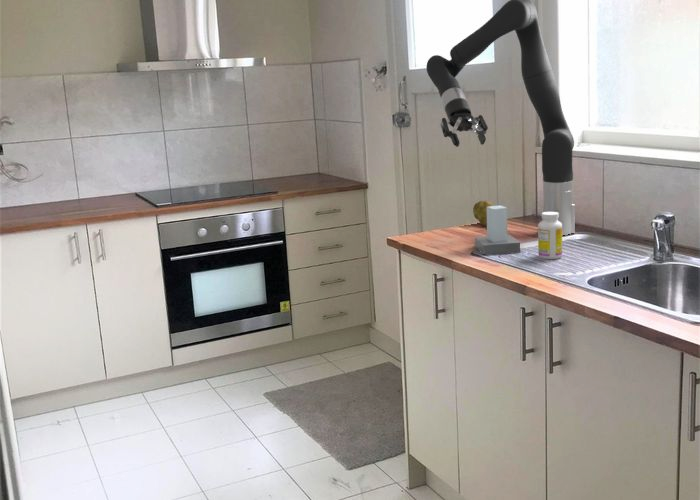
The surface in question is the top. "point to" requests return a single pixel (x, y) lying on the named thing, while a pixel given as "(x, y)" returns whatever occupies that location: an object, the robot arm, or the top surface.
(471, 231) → the top surface
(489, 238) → the block
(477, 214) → the potato
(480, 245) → the block
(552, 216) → the supplement bottle
